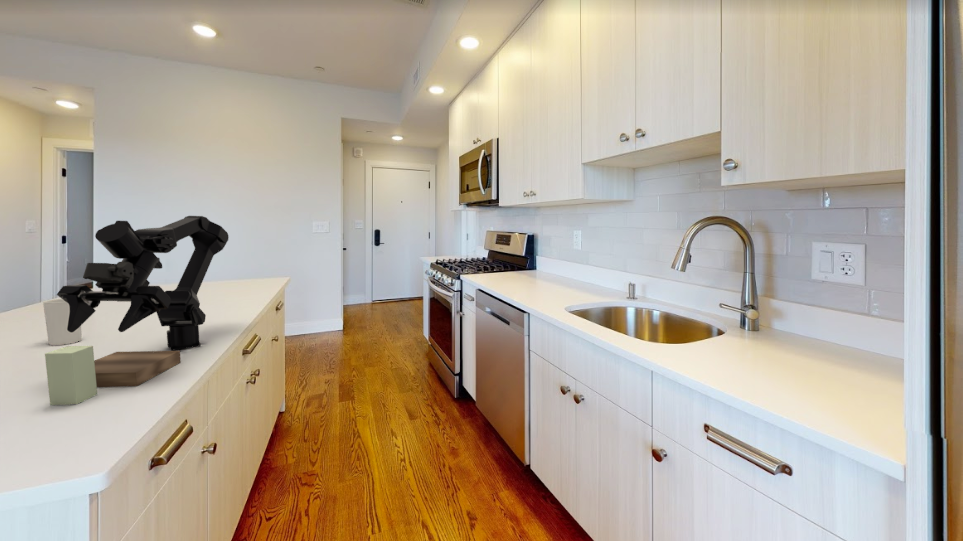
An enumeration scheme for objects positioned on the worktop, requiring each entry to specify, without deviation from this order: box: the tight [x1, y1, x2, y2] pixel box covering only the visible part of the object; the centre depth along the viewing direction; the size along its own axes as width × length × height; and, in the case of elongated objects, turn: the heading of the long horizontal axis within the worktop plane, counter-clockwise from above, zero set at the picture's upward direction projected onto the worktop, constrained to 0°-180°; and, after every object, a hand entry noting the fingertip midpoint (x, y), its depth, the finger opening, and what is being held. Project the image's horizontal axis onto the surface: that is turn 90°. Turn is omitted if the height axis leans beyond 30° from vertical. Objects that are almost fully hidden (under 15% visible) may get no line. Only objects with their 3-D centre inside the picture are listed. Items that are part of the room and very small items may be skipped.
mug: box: [42, 298, 83, 346], centre depth 106 cm, size 10×7×12 cm, turn 50°
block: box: [44, 345, 98, 406], centre depth 72 cm, size 4×4×10 cm
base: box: [94, 350, 182, 388], centre depth 85 cm, size 14×14×3 cm
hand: (95, 331), depth 77 cm, fingers open, 9 cm apart
